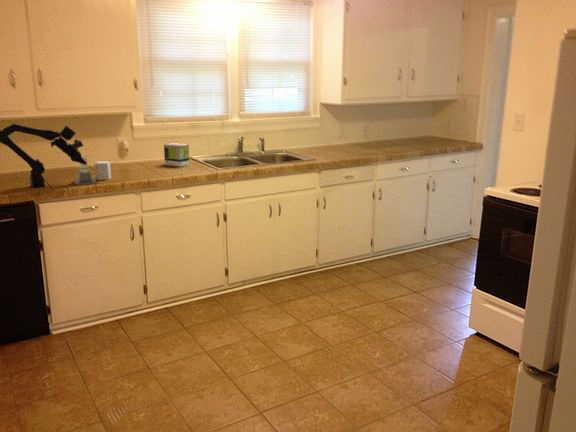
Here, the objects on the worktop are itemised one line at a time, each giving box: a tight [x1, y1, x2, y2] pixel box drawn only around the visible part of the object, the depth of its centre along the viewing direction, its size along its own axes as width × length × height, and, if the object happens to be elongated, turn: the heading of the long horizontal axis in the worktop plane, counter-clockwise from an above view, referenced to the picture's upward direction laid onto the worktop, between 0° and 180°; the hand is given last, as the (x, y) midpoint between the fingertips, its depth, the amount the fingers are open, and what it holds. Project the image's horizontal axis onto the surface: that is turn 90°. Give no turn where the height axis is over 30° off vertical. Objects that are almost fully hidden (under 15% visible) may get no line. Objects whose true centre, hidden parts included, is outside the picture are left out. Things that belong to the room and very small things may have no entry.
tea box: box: [163, 142, 190, 168], centre depth 376 cm, size 15×10×15 cm, turn 58°
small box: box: [94, 161, 112, 181], centre depth 331 cm, size 8×6×10 cm
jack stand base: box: [73, 170, 98, 186], centre depth 321 cm, size 12×12×6 cm
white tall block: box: [79, 156, 89, 173], centre depth 319 cm, size 4×4×10 cm
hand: (86, 163), depth 319 cm, fingers closed on white tall block, 4 cm apart
